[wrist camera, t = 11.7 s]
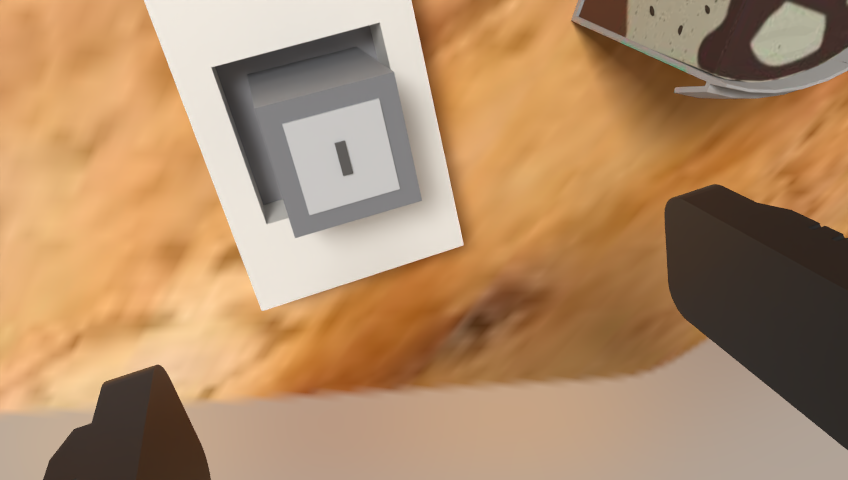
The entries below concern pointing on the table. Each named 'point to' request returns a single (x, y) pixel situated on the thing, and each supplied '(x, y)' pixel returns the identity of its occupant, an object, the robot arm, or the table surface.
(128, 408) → the robot arm
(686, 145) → the table surface
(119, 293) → the table surface
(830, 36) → the food container
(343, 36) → the power strip
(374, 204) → the block
